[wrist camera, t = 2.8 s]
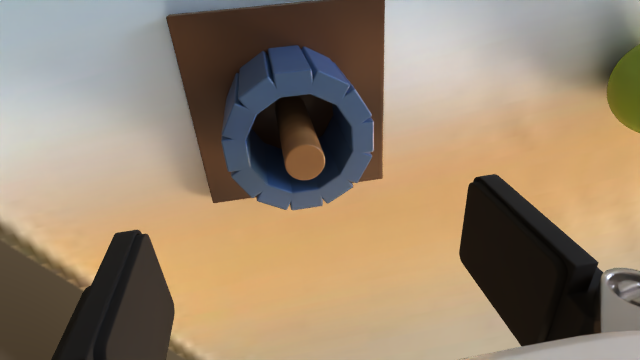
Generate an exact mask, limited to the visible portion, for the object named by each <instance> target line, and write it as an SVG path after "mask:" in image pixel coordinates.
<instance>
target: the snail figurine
mask: <svg viewBox="0 0 640 360" xmlns="http://www.w3.org/2000/svg"><path fill="white" fill-rule="evenodd" d="M607 99H608V104H609V106H610V109H611V111H612V112H613V114H614V115H615V117H616V118H617V119H618V120H619V121H620V122H621V123H622V124H623V125H625V126H626V127H628V128H630V129H631V130H633V131H636V132H638V133H640V44H639V45H637V46H636V47H634V48H633V49H631V50H630V51H629V52H628V53H627V54H625V55H624V56H623V57H622V59H621V60H620V61H619V62H618V63H617V65H616V66H615V68H614V69H613V71H612V73H611V75H610V78H609V81H608V85H607Z"/></svg>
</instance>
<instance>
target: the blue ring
mask: <svg viewBox="0 0 640 360" xmlns="http://www.w3.org/2000/svg"><path fill="white" fill-rule="evenodd" d="M268 55H269V57H268ZM268 55H267V54H266V53H265V52H264V51H262V52H261V53H259V54H258V55H257V56H255V57H254V58H253V59H251V60H250V61H249V62H247V63H246V64H245V65H243V66H242V67H241V68H240V72H239V73H236V74H235V77H234V80H233V82H232V85H231V88H230V90H229V93H228V96H227V98H226V105H225V112H224V120H223V128H222V138H221V143H222V148H223V153H224V157H225V162H226V166H227V170H228V172H231V177H232V178H233V179H234V180H235V181H236V182H237V183H238V184H239V185H240V186H241V187H242V188H243V189H244V191H245V192H246V193H247V194H248V195H249V196H250V197H251V198H254V197H255V196H257V201H258V202H262V203H265V204H268V205H271V206H275V207H278V208H281V209H285V210H287V208H288V206H289V204H290V206H291V210H298V209H304V208H311V207H318V206H322V205H323V200H324V201H325V202H326V203H327V204H328V203H330V202H331V201H333V200H334V199H336V198H337V197H339V196H340V195H342V194H343V193H345V192H346V191H348V190H349V189H351V188H352V187H353V184H352V182H355V183H358V181H359V179H360V177H361V176H362V174H363V172H364V170H365V169H366V167H367V165H368V164H369V162H370V160H371V158H372V155H371V153H370V152H373V151H374V121H373V120H372V118H371V116H372V114H371V112H370V111H369V109H368V108H367V106H366V105H365V103H364V102H363V100H362V99H361V97H360V95H359V94H358V92H357V91H356V89H355V88H354V87H353V85H352V84H351V83H350V82H349V80H348V79H347V78H346V77H345V75H344V74H343V73H342V71H341V70H340V69H339V68H338V66H337V65H336V64H335V63H334V62H332V61H331V59H330V58H328V57H326V56H324V55H322V54H320V53H318V52H315V51H313V50H311V49H309V48H307V47H304V46H303V47H302V50H301V49H300V47H299V46H298V45H295V46H286V47H276V48H269V49H268ZM307 94H311V95H313V96H316V97H318V98H320V99H323V100H325V101H327V102H330V103H332V106H333V116H332V118H331V120H330V122H329V124H328V126H327V128H326V130H325V132H324V134H323V135H322V136H321V137H319V138H318V140H319V143H320V145H321V148H322V151H323V153H324V156H325V166H324V168H323V170H322V172H321V173H320V174H319V175H318V176H316V177H315V178H313V179H310V180H298V179H295V178H293V177H292V176H290V175H289V174H288V172H287V171H286V168H285V164H284V158H283V153H282V149H280V148H277V147H275V146H272V145H269V144H266V143H264V142H263V141H262V140H261V139H260V137H259V136H258V135H257V134H256V133H255V132H254V131H253V129H252V128H251V127H252V125H253V123H254V120H255V118H256V116H257V114H259V113H260V112H261V111H263V110H264V109H265V108H267V107H268V106H269V105H271V104H272V103H274V102H275V101H276V100H278V99H279V98H282V97H290V96H298V95H307ZM351 181H352V182H351ZM322 198H323V200H322Z"/></svg>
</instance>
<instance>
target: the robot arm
mask: <svg viewBox="0 0 640 360" xmlns="http://www.w3.org/2000/svg"><path fill="white" fill-rule="evenodd" d="M459 253H460V259H461V261H462V263H463V265H464V266H465V268H466V269H467V270H468V272H469V273H470V275H471V276H472V277H473V279H474V280H475V282H476V283H477V284H478V286H479V287H480V289H481V290H482V291H483V293H484V294H485V296H486V297H487V298H488V300H489V301H490V303H491V304H492V305H493V307H494V308H495V310H496V311H497V312H498V314H499V315H500V317H501V318H502V319H503V321H504V322H505V324H506V325H507V326H508V328H509V329H510V331H511V332H512V333H513V335H514V336H515V338H516V339H517V340H518V342H519V343H520V345H521V346H522V347H517V348H512V349H507V350H502V351H497V352H493V353H488V354H483V355H478V356H473V357H468V358H463V359H458V360H640V271H638V270H634V269H628V268H613V269H609V270H607V271H605V272H604V273H603V272H602V271H601V270H600V269H599V268H598V267H597V265H598V262H597V261H596V260H595V259H594V258H593V257H592V256H590V255H589V254H588V253H587V252H586V251H585V250H584V249H582V248H581V247H580V246H579V245H578V244H577V243H575V242H574V241H573V240H572V239H571V238H570V237H569V236H567V235H566V234H565V233H564V232H563V231H562V230H560V229H559V228H558V227H557V226H556V225H555V224H553V223H552V222H551V221H550V220H549V219H548V218H547V217H545V216H544V215H543V214H542V213H541V212H540V211H538V210H537V209H536V208H535V207H534V206H533V205H532V204H530V203H529V202H528V201H527V200H526V199H525V198H523V197H522V196H521V195H520V194H519V193H518V192H517V191H515V190H514V189H513V188H512V187H511V186H510V185H508V184H507V183H506V182H505V181H504V180H503V179H501V178H500V177H499V176H498V175H496V174H493V175H486V176H480V177H476V178H475V179H474V181H473V182H472V183H470V184H469V187H468V193H467V200H466V208H465V215H464V222H463V229H462V237H461V244H460V252H459ZM173 319H174V303H173V300H172V297H171V294H170V292H169V289H168V286H167V284H166V281H165V278H164V275H163V273H162V270H161V267H160V265H159V262H158V259H157V257H156V254H155V251H154V248H153V246H152V243H151V240H150V238H149V236H148V234H142V233H141V232H140V231H139V230H132V231H126V232H120V233H116V234H115V235H114V237H113V239H112V241H111V243H110V245H109V247H108V250H107V252H106V254H105V256H104V258H103V261H102V263H101V265H100V267H99V269H98V272H97V274H96V276H95V278H94V280H93V283H92V285H91V286H89V287H87V288H86V289H85V290H84V292H83V293H82V296H81V298H80V300H79V302H78V304H77V306H76V308H75V311H74V313H73V315H72V317H71V319H70V321H69V323H68V325H67V327H66V330H65V332H64V334H63V336H62V338H61V340H60V342H59V344H58V347H57V349H56V351H55V353H54V355H53V357H52V360H166V357H167V351H168V346H169V341H170V335H171V330H172V325H173Z"/></svg>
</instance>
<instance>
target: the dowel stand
mask: <svg viewBox="0 0 640 360" xmlns="http://www.w3.org/2000/svg"><path fill="white" fill-rule="evenodd" d="M384 14H385V0H316V1H305V2H295V3H285V4H275V5H264V6H254V7H244V8H233V9H223V10H213V11H203V12H192V13H182V14H172V15H168V16H167V17H166V19H167V23H168V27H169V31H170V34H171V38H172V42H173V46H174V50H175V54H176V58H177V62H178V66H179V70H180V74H181V78H182V82H183V86H184V90H185V94H186V98H187V102H188V105H189V109H190V113H191V117H192V121H193V125H194V129H195V133H196V137H197V141H198V145H199V149H200V153H201V157H202V161H203V165H204V169H205V173H206V177H207V180H208V184H209V188H210V192H211V196H212V200H213V203H218V202H225V201H232V200H239V199H245V198H251V197H250V196H249V195H248V194H247V193H246V192H245V191H244V189H243V188H242V187H241V186H240V185H239V184H238V183H237V182H236V181H235V180H234V179H233V178H232V177H231V172H228V170H227V166H226V162H225V157H224V153H223V148H222V143H221V138H222V128H223V120H224V112H225V105H226V98H227V96H228V93H229V90H230V88H231V85H232V82H233V80H234V77H235V74H236V73H239V72H240V68H241V67H242V66H243V65H245V64H246V63H247V62H249V61H250V60H251V59H253V58H254V57H255V56H257V55H258V54H259V53H261V52H262V51H264V52H265V53H266V54H267V55H268V49H269V48H276V47H286V46H295V45H298V46H299V47H300V49H301V50H302V47H303V46H304V47H307V48H309V49H311V50H313V51H315V52H318V53H320V54H322V55H324V56H326V57H328V58H330V59H331V61H332V62H334V63H335V64H336V65H337V66H338V68H339V69H340V70H341V71H342V73H343V74H344V75H345V77H346V78H347V79H348V80H349V82H350V83H351V84H352V85H353V87H354V88H355V89H356V91H357V92H358V94H359V95H360V97H361V99H362V100H363V102H364V103H365V105H366V106H367V108H368V109H369V111H370V112H371V114H372V116H371V118H372V120H373V121H374V151H373V152H370V153H371V155H372V158H371V160H370V162H369V164H368V165H367V167H366V169H365V170H364V172H363V174H362V176H361V177H360V179H359V181H358V182H361V181H368V180H375V179H382V177H383V96H384ZM268 57H269V55H268ZM332 116H333V106H332V103H330V102H327V101H325V100H323V99H320V98H318V97H316V96H313V95H311V94H307V95H298V96H290V97H282V98H279V99H278V100H276V101H275V102H274V103H272V104H271V105H269V106H268V107H267V108H265V109H264V110H263V111H261V112H260V113H259V114H257V116H256V118H255V120H254V123H253V125H252V127H251V128H252V129H253V131H254V132H255V133H256V134H257V135H258V136H259V137H260V139H261V140H262V141H263V142H264V143H266V144H269V145H272V146H275V147H277V148H280V149H282V153H283V158H284V164H285V168H286V171H287V172H288V174H289V175H290V176H292V177H293V178H295V179H298V180H310V179H313V178H315V177H316V176H318V175H319V174H320V173H321V172H322V170H323V168H324V166H325V156H324V153H323V151H322V148H321V145H320V143H319V140H318V138H319V137H321V136H322V135H323V134H324V132H325V130H326V128H327V126H328V124H329V122H330V120H331V118H332ZM351 182H352V181H351ZM352 183H355V182H352ZM255 197H257V196H255Z"/></svg>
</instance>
